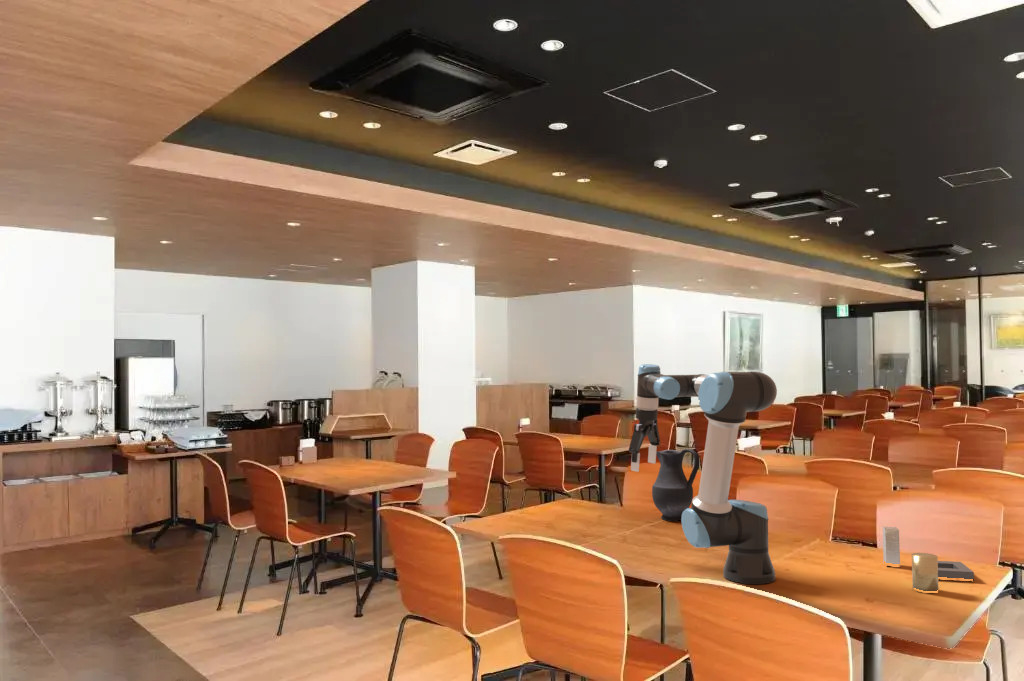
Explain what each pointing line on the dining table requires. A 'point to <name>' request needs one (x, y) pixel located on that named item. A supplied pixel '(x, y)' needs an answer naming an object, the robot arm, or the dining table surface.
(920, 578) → the round bit
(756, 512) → the robot arm
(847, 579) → the dining table surface
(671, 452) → the pitcher
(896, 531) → the square bit
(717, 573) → the dining table surface
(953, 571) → the bore block
